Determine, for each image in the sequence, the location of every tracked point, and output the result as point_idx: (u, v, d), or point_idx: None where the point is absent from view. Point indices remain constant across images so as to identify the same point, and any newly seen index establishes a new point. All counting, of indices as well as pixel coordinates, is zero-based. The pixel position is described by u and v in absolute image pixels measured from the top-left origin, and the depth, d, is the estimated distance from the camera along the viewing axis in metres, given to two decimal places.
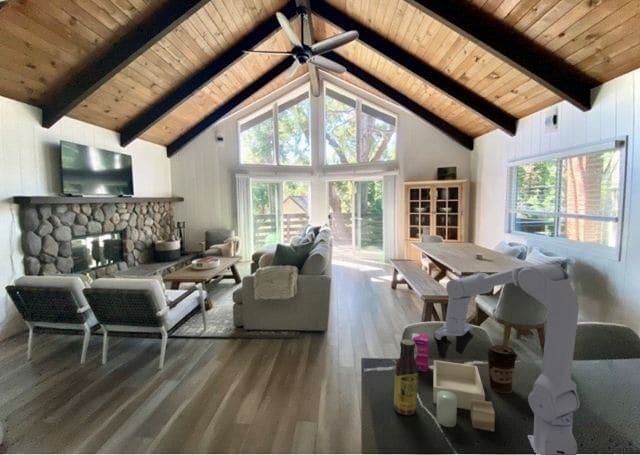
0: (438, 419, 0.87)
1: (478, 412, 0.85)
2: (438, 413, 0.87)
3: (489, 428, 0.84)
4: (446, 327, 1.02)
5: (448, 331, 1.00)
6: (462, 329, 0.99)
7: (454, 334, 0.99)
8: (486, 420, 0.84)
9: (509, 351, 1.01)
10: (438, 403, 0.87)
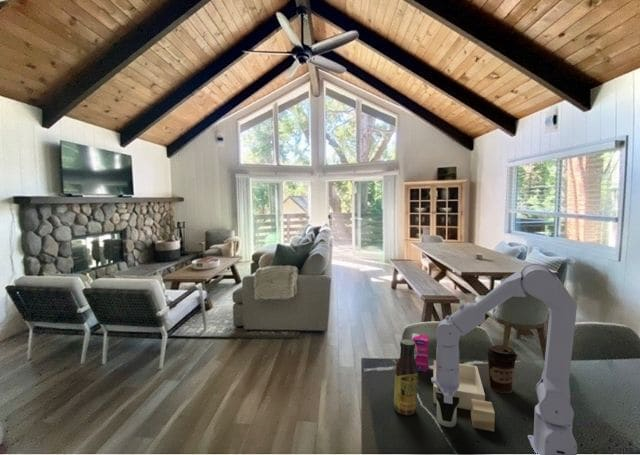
0: (438, 419, 0.87)
1: (478, 412, 0.85)
2: (438, 413, 0.87)
3: (489, 428, 0.84)
4: (444, 384, 0.85)
5: (449, 387, 0.84)
6: (458, 378, 0.86)
7: (457, 388, 0.84)
8: (486, 420, 0.84)
9: (509, 351, 1.01)
10: (438, 403, 0.87)
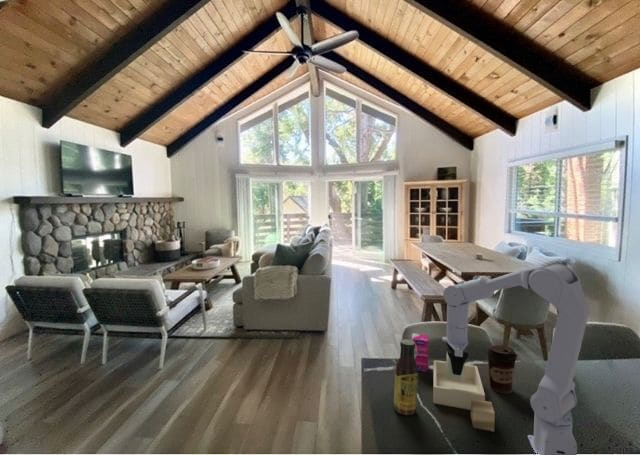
0: (448, 374, 0.96)
1: (478, 412, 0.85)
2: (448, 369, 0.96)
3: (489, 428, 0.84)
4: (454, 341, 0.93)
5: (459, 344, 0.93)
6: (467, 336, 0.95)
7: (466, 344, 0.93)
8: (486, 420, 0.84)
9: (509, 351, 1.01)
10: (448, 360, 0.96)
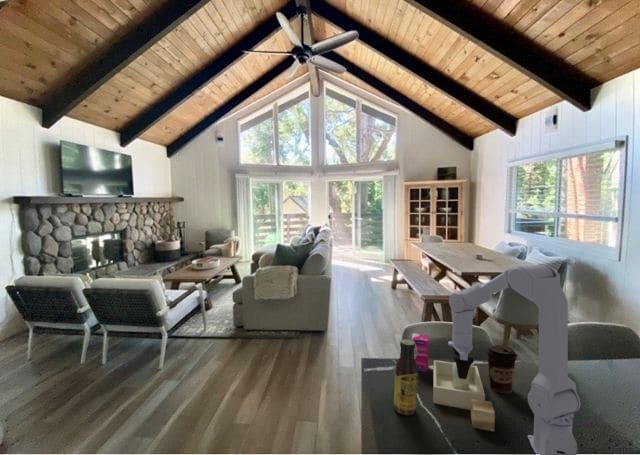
0: (454, 385, 1.02)
1: (478, 412, 0.85)
2: (454, 380, 1.02)
3: (489, 428, 0.84)
4: (460, 345, 1.00)
5: (464, 348, 0.99)
6: None
7: (470, 349, 0.99)
8: (486, 420, 0.84)
9: (509, 351, 1.01)
10: (454, 371, 1.02)
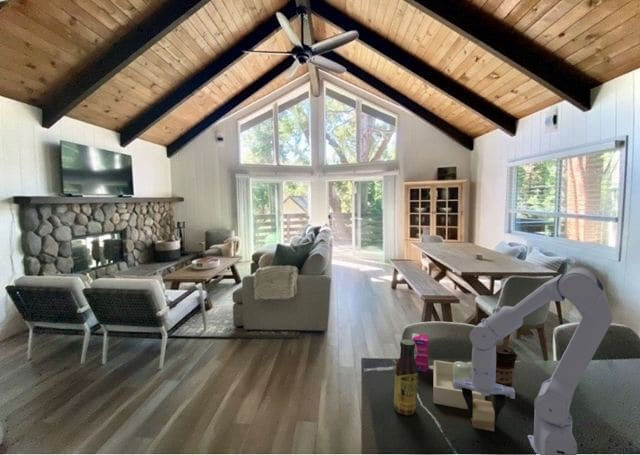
0: None
1: (478, 411, 0.85)
2: None
3: (489, 428, 0.84)
4: (495, 386, 0.84)
5: (495, 386, 0.86)
6: None
7: None
8: (486, 420, 0.84)
9: (509, 351, 1.01)
10: (455, 372, 1.02)
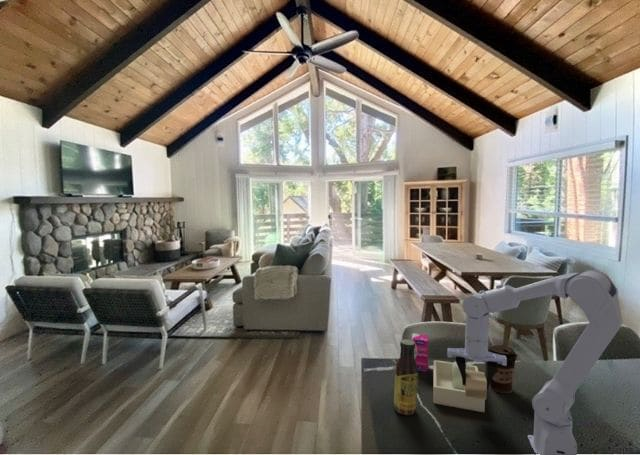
0: (455, 386, 1.02)
1: (470, 381, 0.87)
2: (455, 381, 1.02)
3: (481, 396, 0.87)
4: (487, 354, 0.87)
5: (488, 354, 0.88)
6: None
7: None
8: (478, 389, 0.87)
9: (509, 351, 1.01)
10: (455, 373, 1.01)
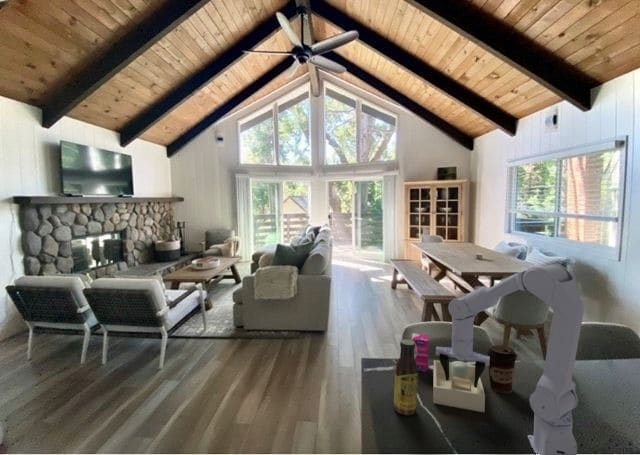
0: None
1: (455, 386, 0.95)
2: None
3: None
4: (472, 353, 0.94)
5: (473, 354, 0.95)
6: None
7: None
8: None
9: (509, 351, 1.01)
10: (455, 373, 1.01)
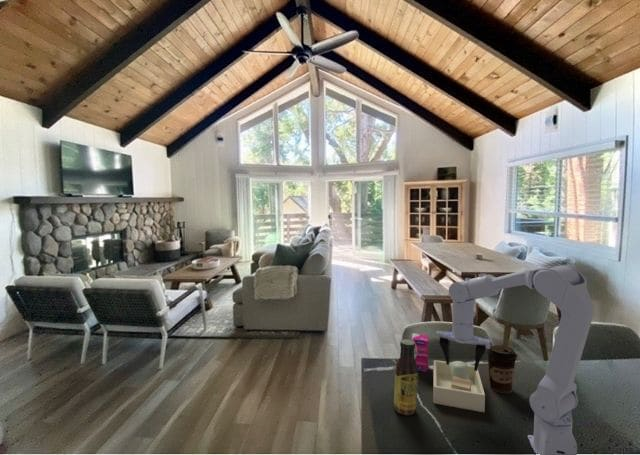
0: None
1: (455, 386, 0.95)
2: None
3: None
4: (472, 337, 0.94)
5: (473, 338, 0.95)
6: None
7: None
8: None
9: (509, 351, 1.01)
10: (456, 373, 1.01)
